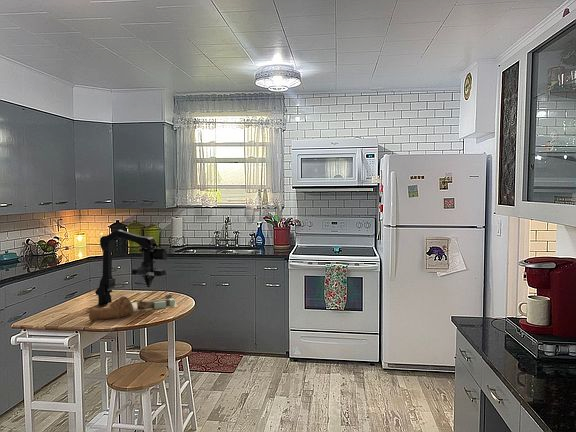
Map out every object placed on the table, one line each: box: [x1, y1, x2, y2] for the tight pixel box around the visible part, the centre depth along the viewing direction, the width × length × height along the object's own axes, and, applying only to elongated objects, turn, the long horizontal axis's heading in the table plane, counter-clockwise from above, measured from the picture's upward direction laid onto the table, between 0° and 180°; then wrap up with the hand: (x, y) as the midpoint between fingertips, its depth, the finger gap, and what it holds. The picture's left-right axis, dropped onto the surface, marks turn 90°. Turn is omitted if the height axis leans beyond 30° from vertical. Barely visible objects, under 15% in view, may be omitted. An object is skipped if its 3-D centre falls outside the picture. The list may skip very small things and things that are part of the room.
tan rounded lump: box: [88, 296, 134, 322], centre depth 240 cm, size 19×11×15 cm
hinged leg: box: [136, 298, 169, 309], centre depth 258 cm, size 16×4×4 cm, turn 117°
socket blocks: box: [154, 297, 176, 310], centre depth 259 cm, size 11×7×3 cm, turn 114°
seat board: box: [131, 293, 179, 312], centre depth 264 cm, size 23×21×4 cm
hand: (148, 287), depth 265 cm, fingers closed
